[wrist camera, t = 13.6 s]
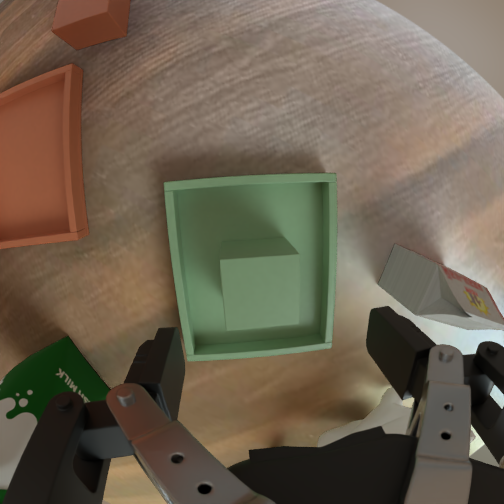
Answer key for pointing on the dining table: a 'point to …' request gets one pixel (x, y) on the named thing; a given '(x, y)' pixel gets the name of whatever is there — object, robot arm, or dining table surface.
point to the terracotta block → (90, 21)
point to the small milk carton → (439, 292)
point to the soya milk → (39, 397)
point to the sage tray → (245, 228)
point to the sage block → (260, 283)
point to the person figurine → (377, 420)
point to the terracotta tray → (42, 160)
